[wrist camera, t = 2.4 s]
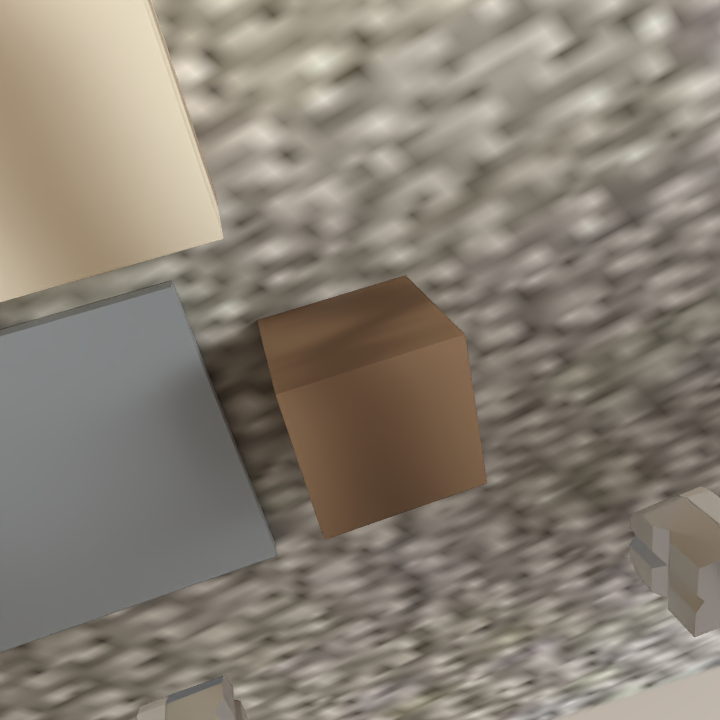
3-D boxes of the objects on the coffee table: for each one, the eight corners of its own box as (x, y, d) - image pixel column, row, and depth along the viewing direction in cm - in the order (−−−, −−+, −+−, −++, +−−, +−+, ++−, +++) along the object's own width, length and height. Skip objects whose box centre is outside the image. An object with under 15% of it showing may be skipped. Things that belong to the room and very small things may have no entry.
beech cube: (149, -6, 15) (130, -36, 10) (215, 194, 17) (223, 238, 13) (-60, 43, 14) (-172, 33, 10) (39, 243, 17) (-16, 306, 12)
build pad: (172, 280, 18) (171, 287, 17) (275, 544, 23) (277, 555, 22) (-223, 393, 16) (-237, 404, 16) (-19, 646, 22) (-24, 660, 21)
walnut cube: (405, 274, 20) (465, 334, 15) (429, 400, 22) (487, 483, 18) (256, 319, 19) (275, 394, 15) (298, 443, 21) (324, 539, 17)
